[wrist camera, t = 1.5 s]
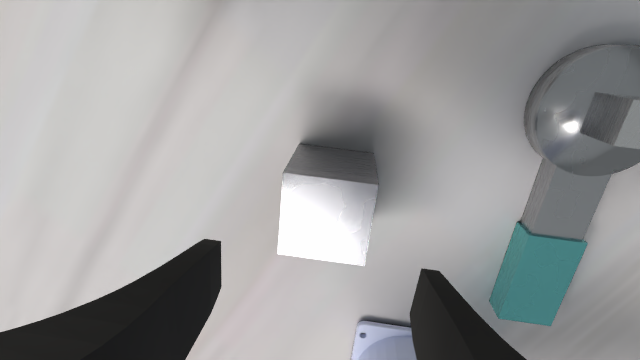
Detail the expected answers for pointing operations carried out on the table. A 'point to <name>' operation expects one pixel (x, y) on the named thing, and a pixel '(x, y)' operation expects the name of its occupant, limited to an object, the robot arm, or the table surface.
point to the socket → (328, 204)
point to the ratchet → (569, 173)
